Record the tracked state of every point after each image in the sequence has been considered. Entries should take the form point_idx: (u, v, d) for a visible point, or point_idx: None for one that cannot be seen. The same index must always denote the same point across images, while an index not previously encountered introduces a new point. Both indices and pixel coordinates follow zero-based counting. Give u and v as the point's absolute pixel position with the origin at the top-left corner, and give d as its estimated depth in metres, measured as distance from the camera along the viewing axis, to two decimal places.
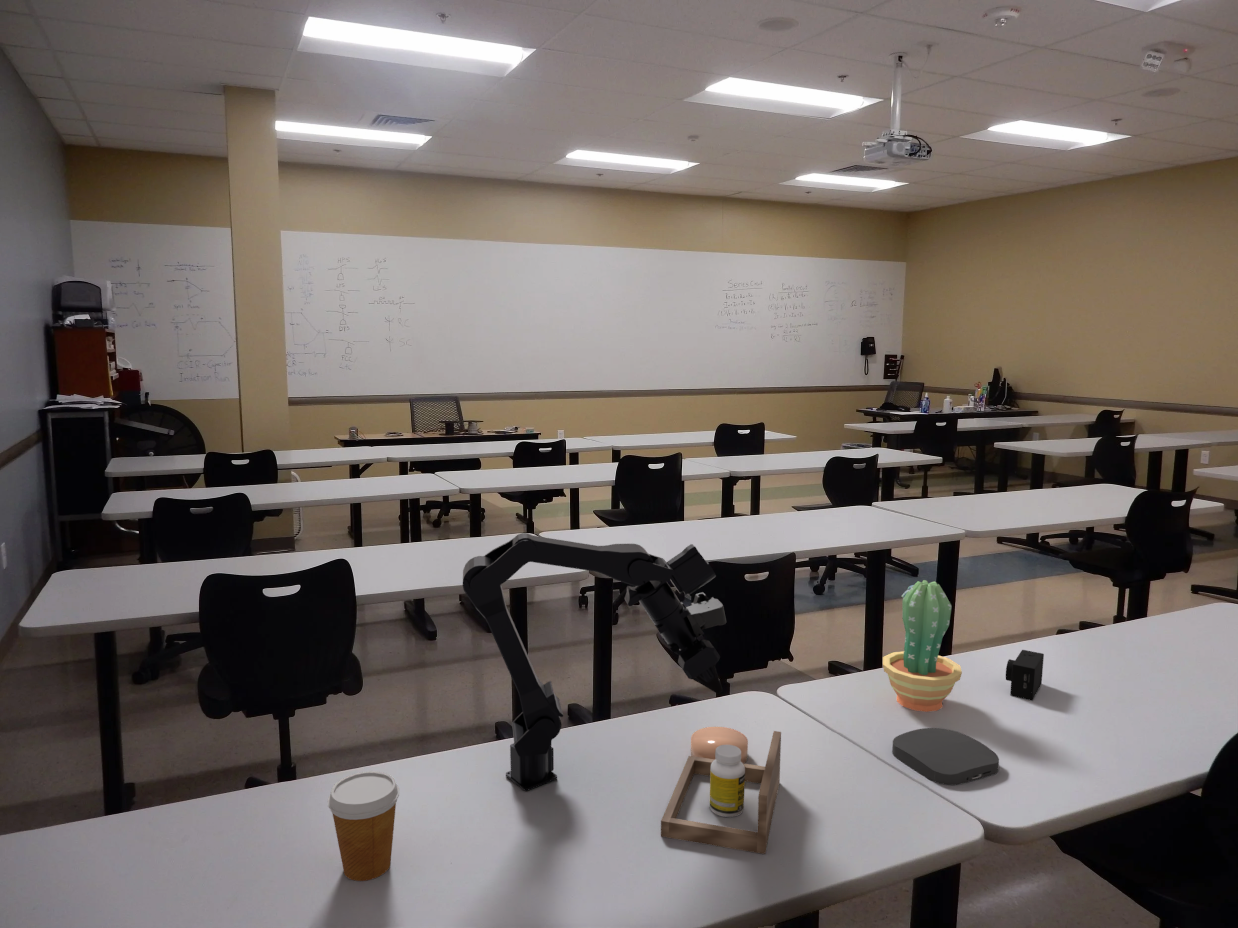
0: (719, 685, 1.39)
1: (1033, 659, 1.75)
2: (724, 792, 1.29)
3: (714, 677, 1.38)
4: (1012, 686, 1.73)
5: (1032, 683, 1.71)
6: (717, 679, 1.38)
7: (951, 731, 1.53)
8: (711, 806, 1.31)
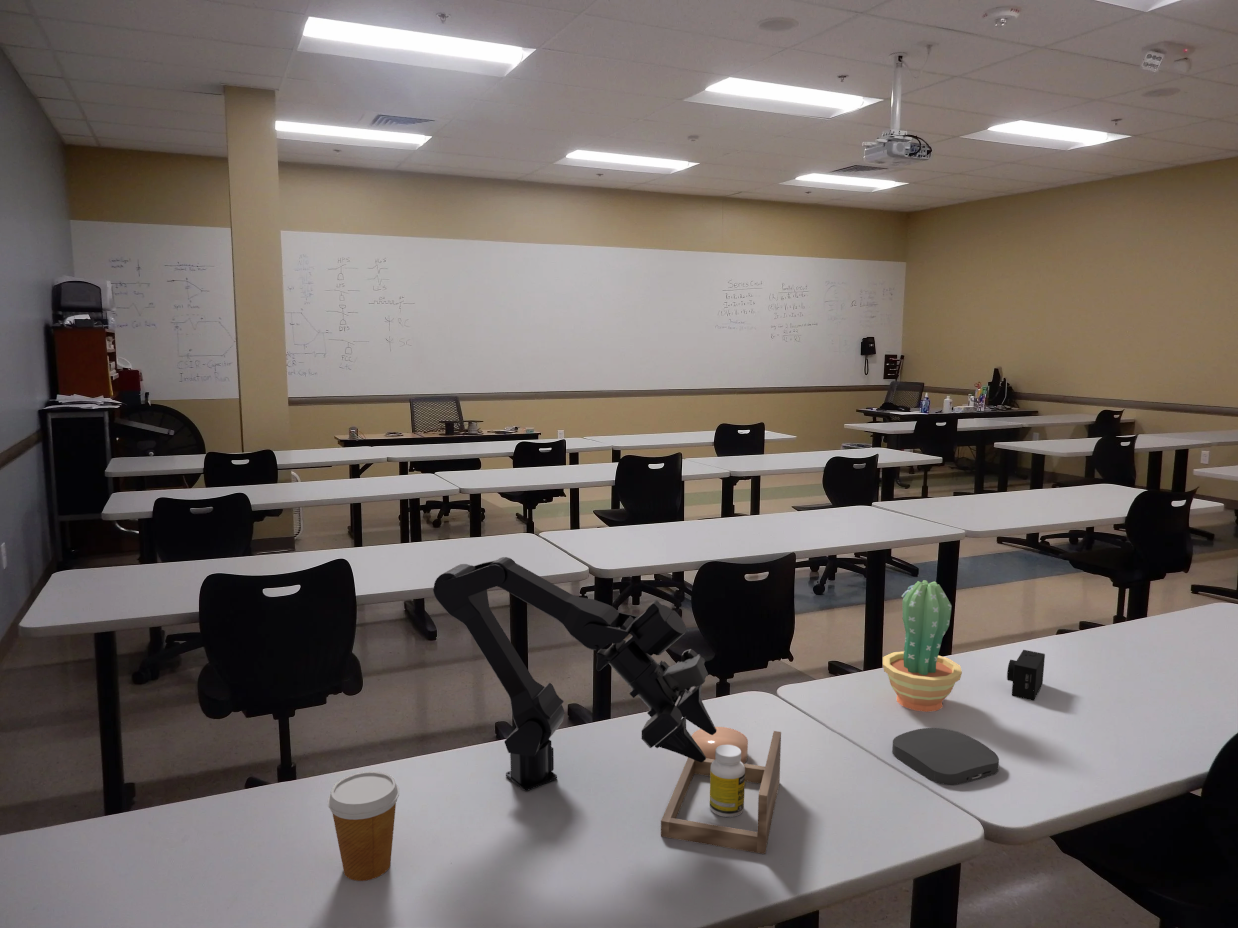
0: (699, 753, 1.26)
1: (1034, 660, 1.75)
2: (724, 792, 1.29)
3: (689, 745, 1.26)
4: (1014, 686, 1.73)
5: (1034, 683, 1.71)
6: (694, 747, 1.26)
7: (951, 731, 1.53)
8: (711, 806, 1.31)
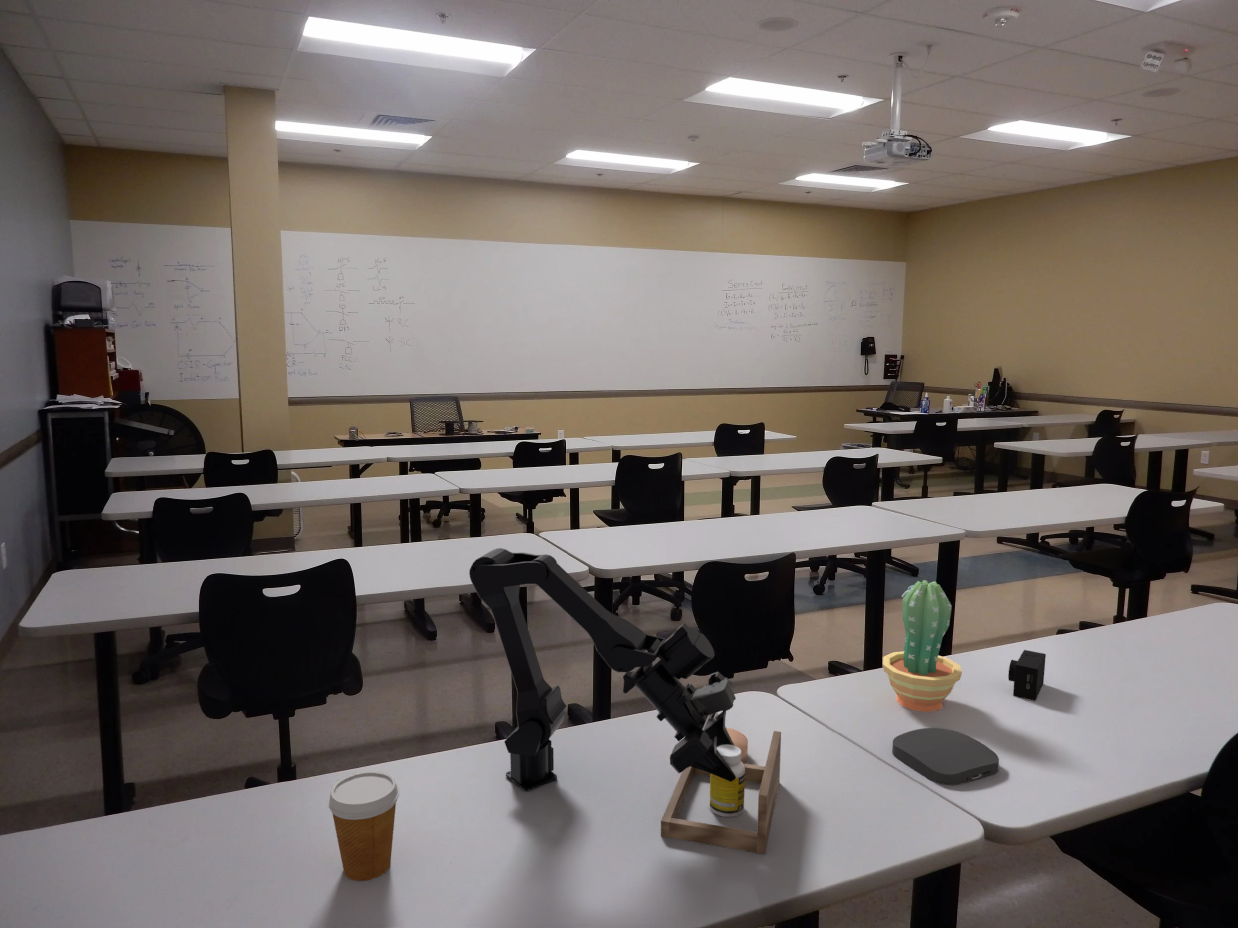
0: (729, 772, 1.27)
1: (1035, 660, 1.75)
2: (724, 792, 1.29)
3: (719, 764, 1.27)
4: (1015, 686, 1.73)
5: (1035, 683, 1.71)
6: (724, 766, 1.27)
7: (951, 731, 1.53)
8: (711, 806, 1.31)
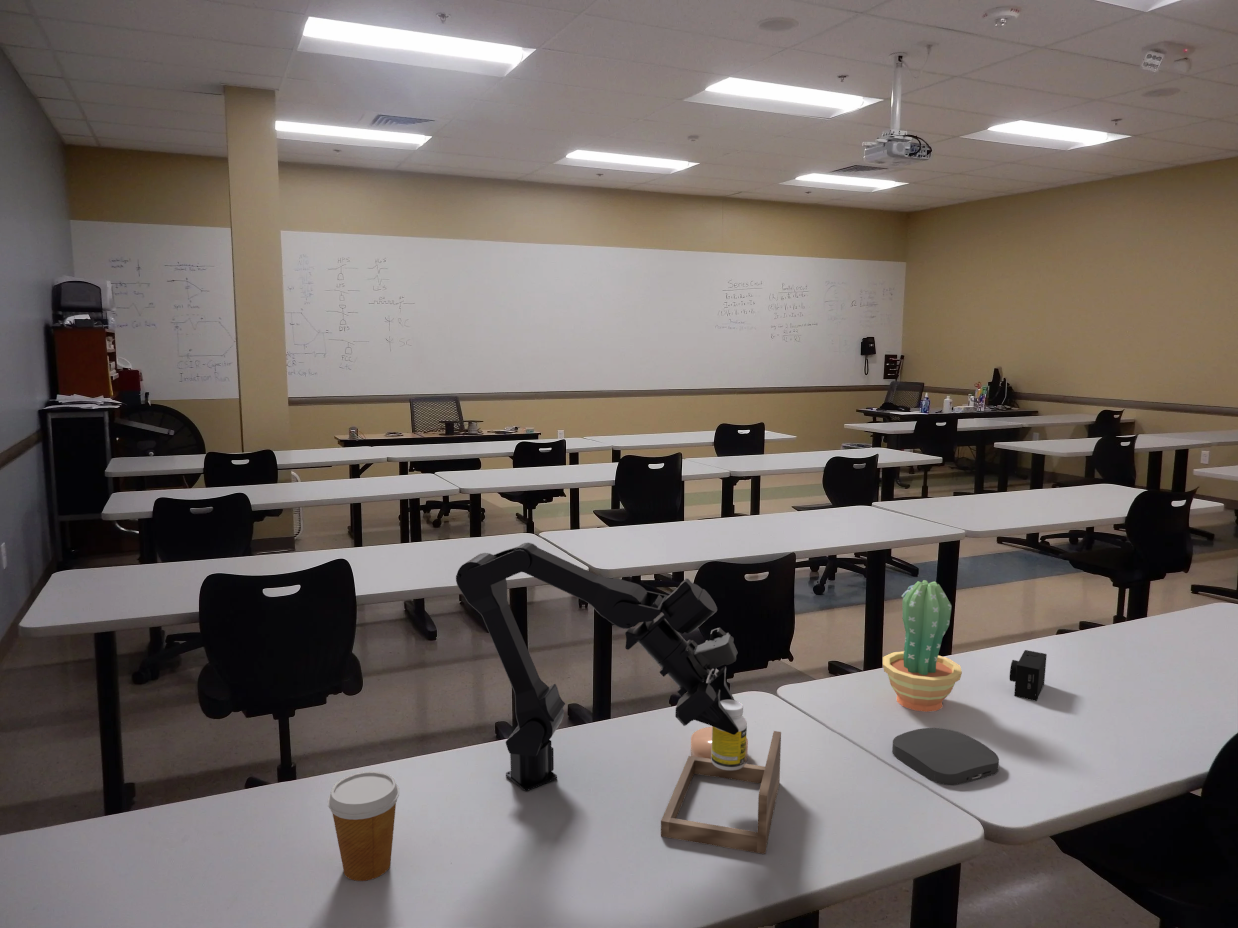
0: (732, 725, 1.28)
1: (1036, 660, 1.75)
2: (727, 745, 1.29)
3: (723, 717, 1.28)
4: (1016, 687, 1.73)
5: (1036, 684, 1.71)
6: (727, 719, 1.28)
7: (951, 731, 1.53)
8: (713, 760, 1.31)
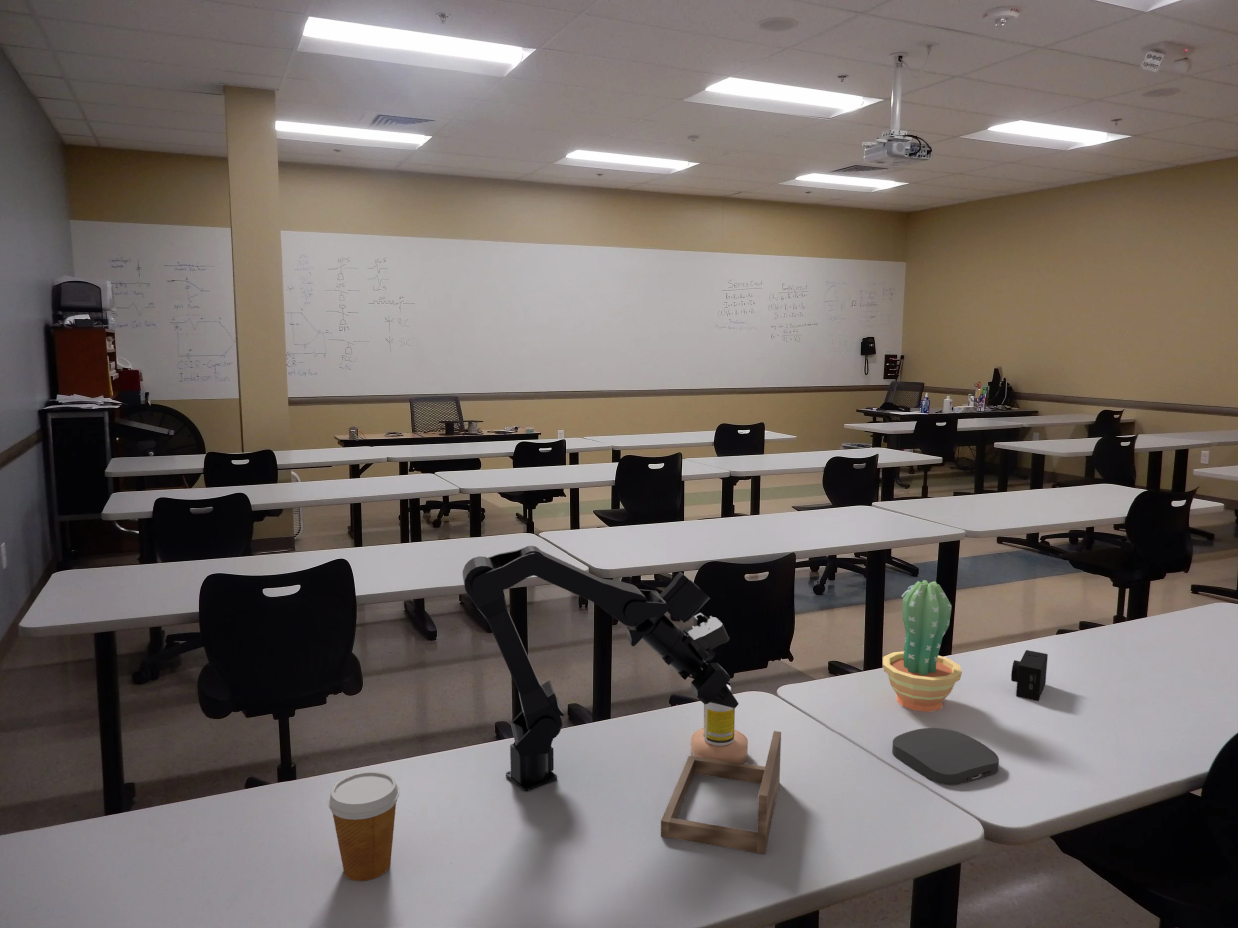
0: (734, 700, 1.42)
1: (1038, 660, 1.75)
2: (725, 724, 1.45)
3: (728, 694, 1.41)
4: (1018, 687, 1.73)
5: (1038, 684, 1.71)
6: (731, 695, 1.42)
7: (951, 731, 1.53)
8: (710, 740, 1.46)
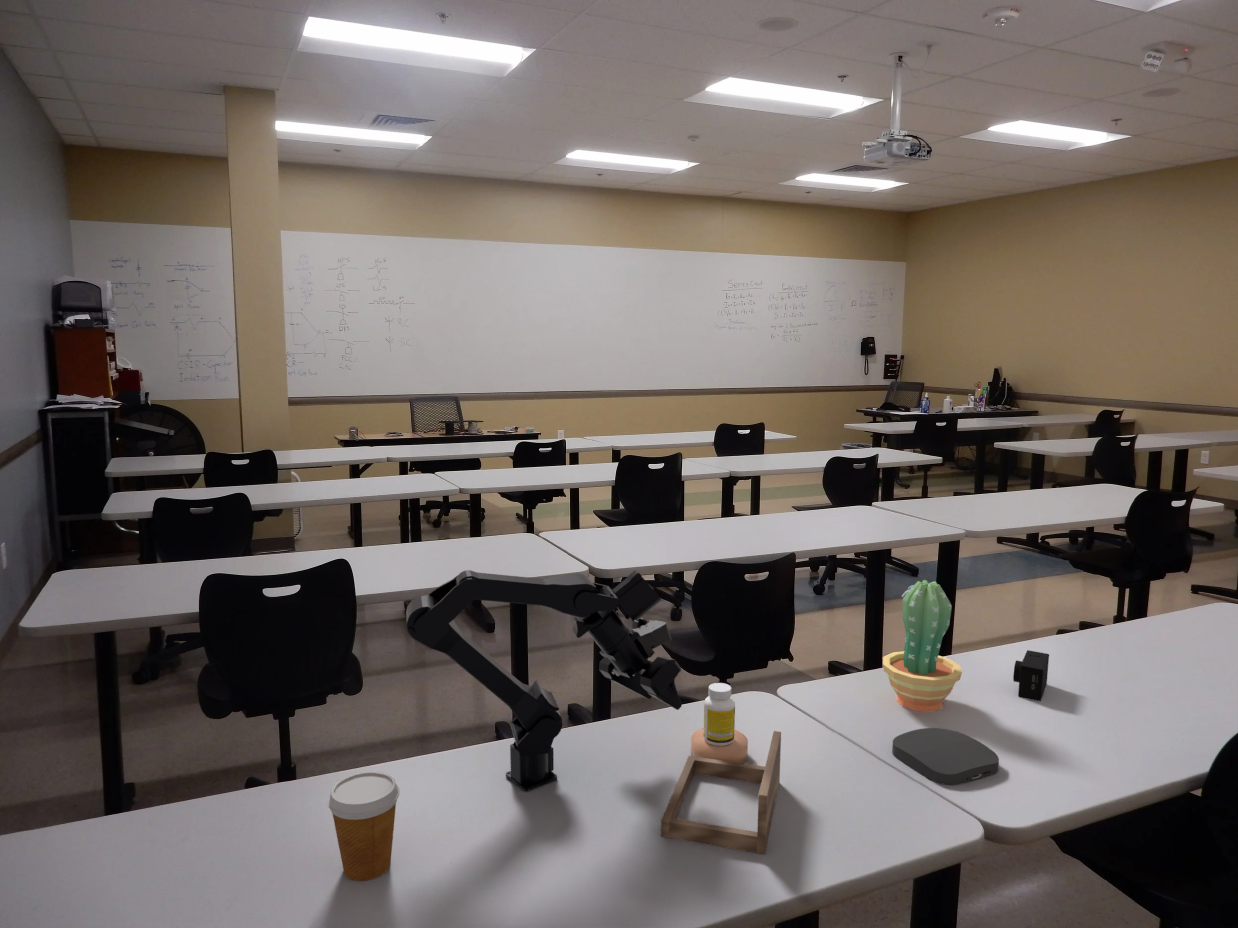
0: (678, 700, 1.41)
1: (1039, 660, 1.75)
2: (725, 723, 1.45)
3: (674, 692, 1.40)
4: (1020, 687, 1.73)
5: (1040, 684, 1.70)
6: (676, 694, 1.40)
7: (951, 731, 1.53)
8: (710, 740, 1.46)
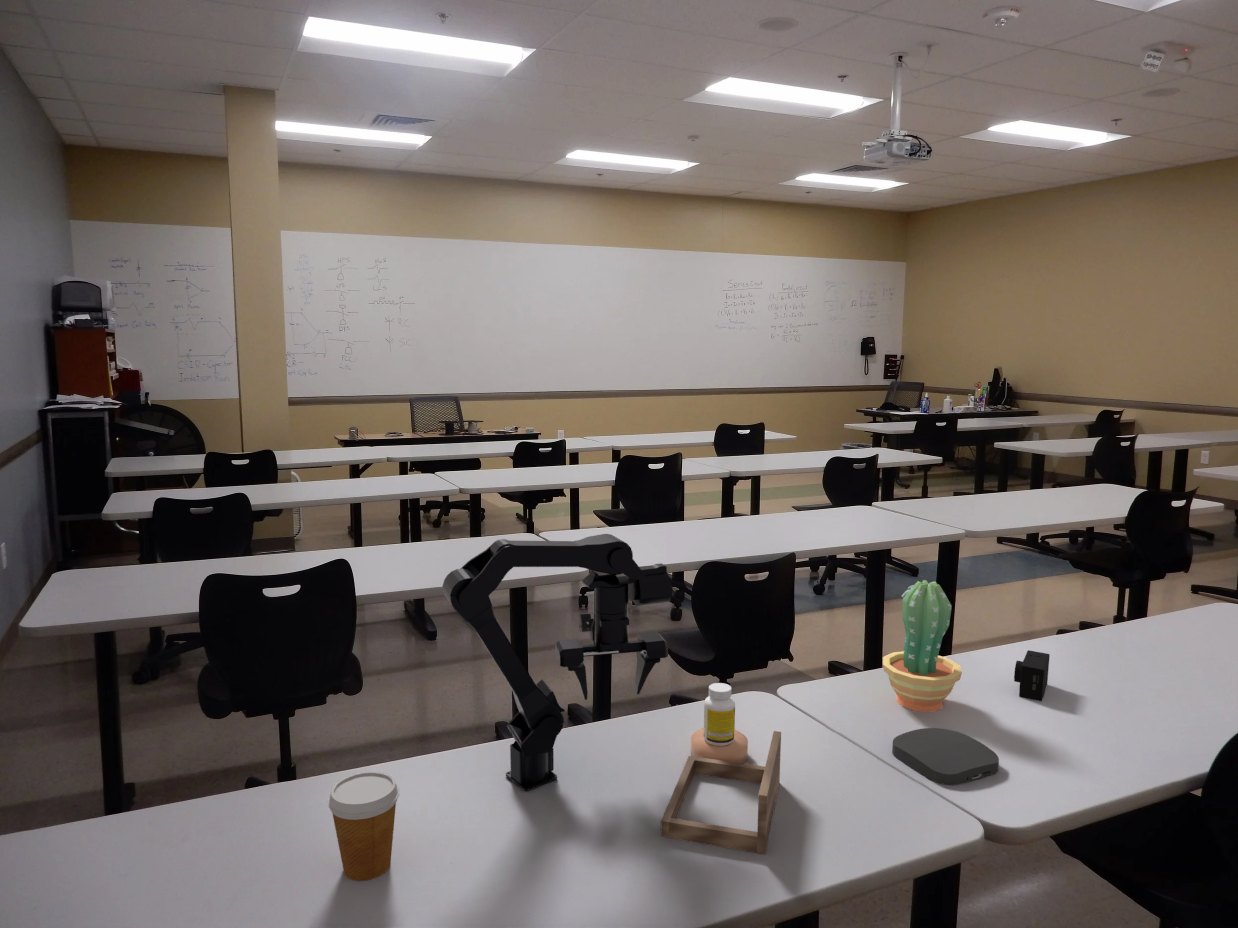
0: None
1: (1040, 660, 1.75)
2: (725, 724, 1.45)
3: None
4: (1021, 687, 1.73)
5: (1041, 684, 1.70)
6: None
7: (951, 731, 1.53)
8: (710, 740, 1.46)
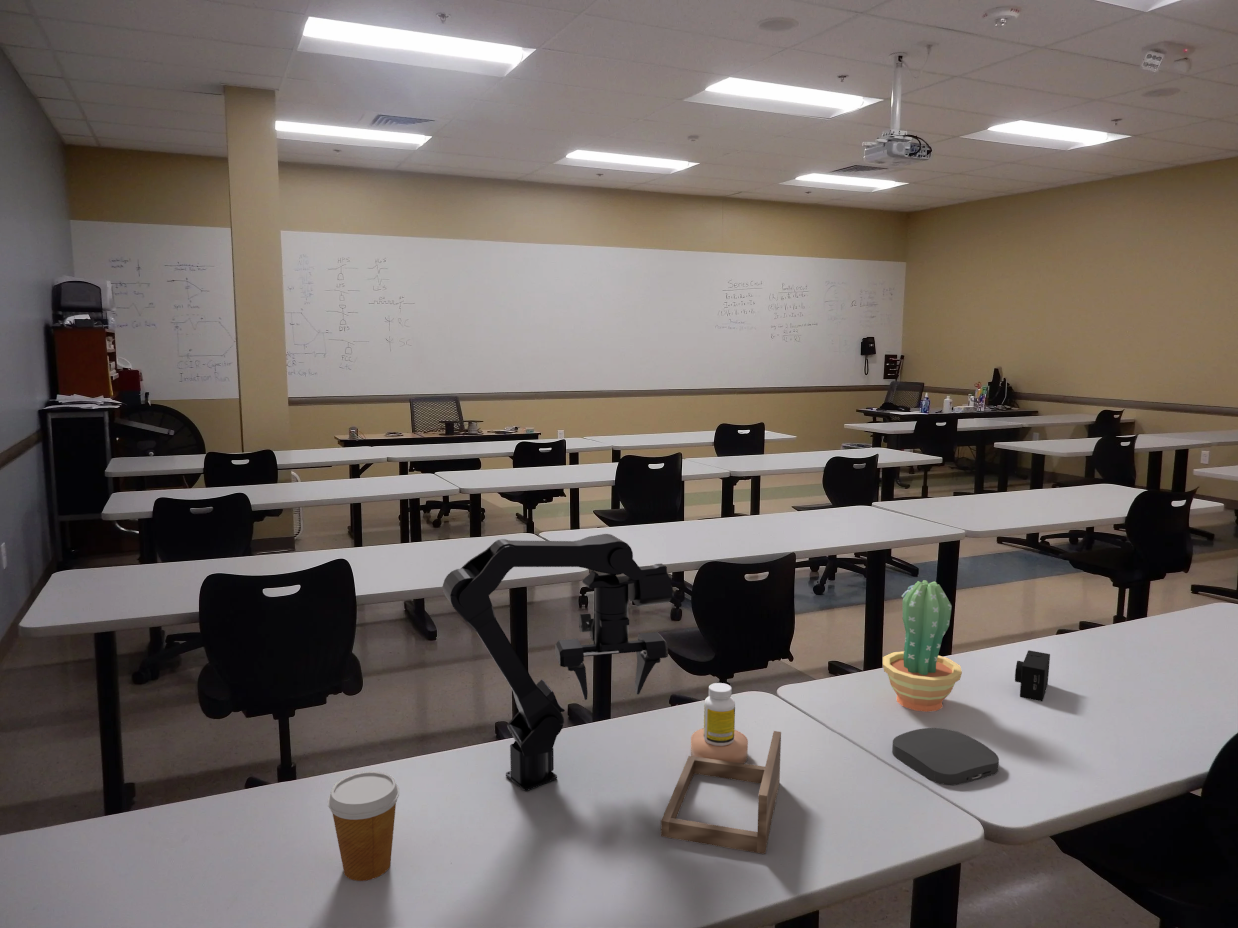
0: None
1: (1041, 660, 1.75)
2: (725, 724, 1.45)
3: None
4: (1022, 688, 1.73)
5: (1042, 684, 1.70)
6: None
7: (951, 731, 1.53)
8: (710, 740, 1.46)
